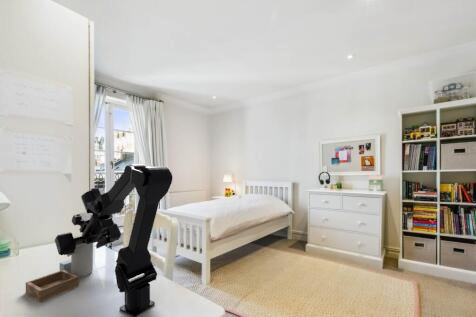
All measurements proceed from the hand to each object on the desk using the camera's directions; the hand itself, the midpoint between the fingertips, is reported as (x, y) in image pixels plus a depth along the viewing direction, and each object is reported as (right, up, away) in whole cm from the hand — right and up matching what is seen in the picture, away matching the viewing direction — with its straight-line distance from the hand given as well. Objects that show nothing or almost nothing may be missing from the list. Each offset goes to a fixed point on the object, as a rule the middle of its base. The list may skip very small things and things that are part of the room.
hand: (82, 251), depth 84 cm
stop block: (-5, -8, +3) cm, 10 cm away
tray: (-3, -8, -10) cm, 13 cm away
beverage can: (0, -8, 0) cm, 8 cm away
